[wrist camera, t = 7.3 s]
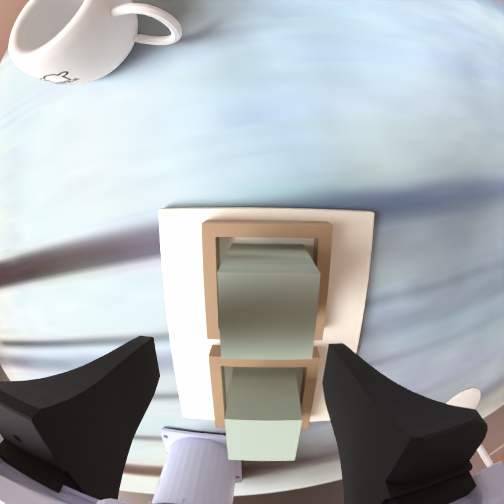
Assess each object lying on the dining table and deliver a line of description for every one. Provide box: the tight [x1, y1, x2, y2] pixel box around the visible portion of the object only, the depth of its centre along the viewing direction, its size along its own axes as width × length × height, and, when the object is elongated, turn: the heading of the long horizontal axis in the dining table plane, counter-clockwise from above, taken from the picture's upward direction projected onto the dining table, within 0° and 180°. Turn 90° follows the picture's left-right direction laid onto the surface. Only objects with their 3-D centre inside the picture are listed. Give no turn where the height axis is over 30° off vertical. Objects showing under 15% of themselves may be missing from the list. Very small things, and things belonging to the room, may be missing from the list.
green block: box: [217, 243, 320, 360], centre depth 16 cm, size 4×4×6 cm
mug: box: [9, 0, 182, 84], centre depth 12 cm, size 12×8×8 cm
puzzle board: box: [159, 207, 374, 461], centre depth 18 cm, size 18×14×7 cm
